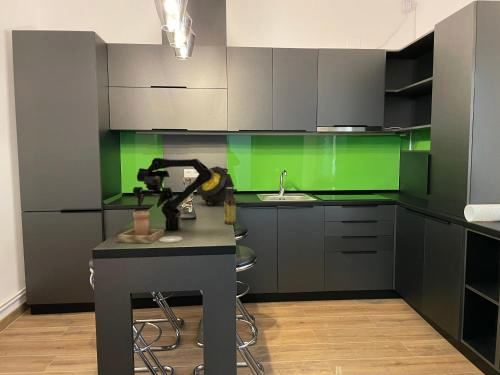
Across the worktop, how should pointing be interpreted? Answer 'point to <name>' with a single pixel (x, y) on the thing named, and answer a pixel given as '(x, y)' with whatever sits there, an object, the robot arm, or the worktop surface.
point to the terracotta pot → (141, 223)
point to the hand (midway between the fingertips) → (148, 206)
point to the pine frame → (132, 238)
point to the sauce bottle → (229, 207)
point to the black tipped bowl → (216, 187)
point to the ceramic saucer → (170, 239)
